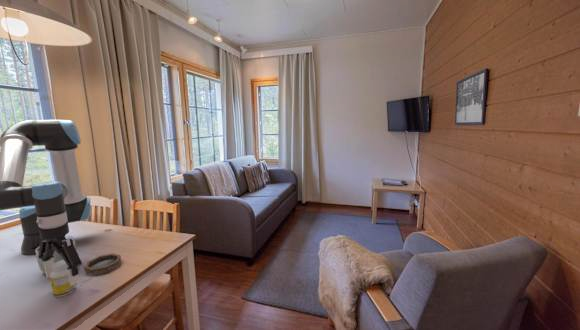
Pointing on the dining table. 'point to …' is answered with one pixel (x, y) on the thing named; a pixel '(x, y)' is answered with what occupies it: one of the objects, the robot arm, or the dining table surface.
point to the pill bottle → (60, 279)
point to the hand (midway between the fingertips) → (63, 279)
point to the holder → (102, 264)
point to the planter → (56, 257)
